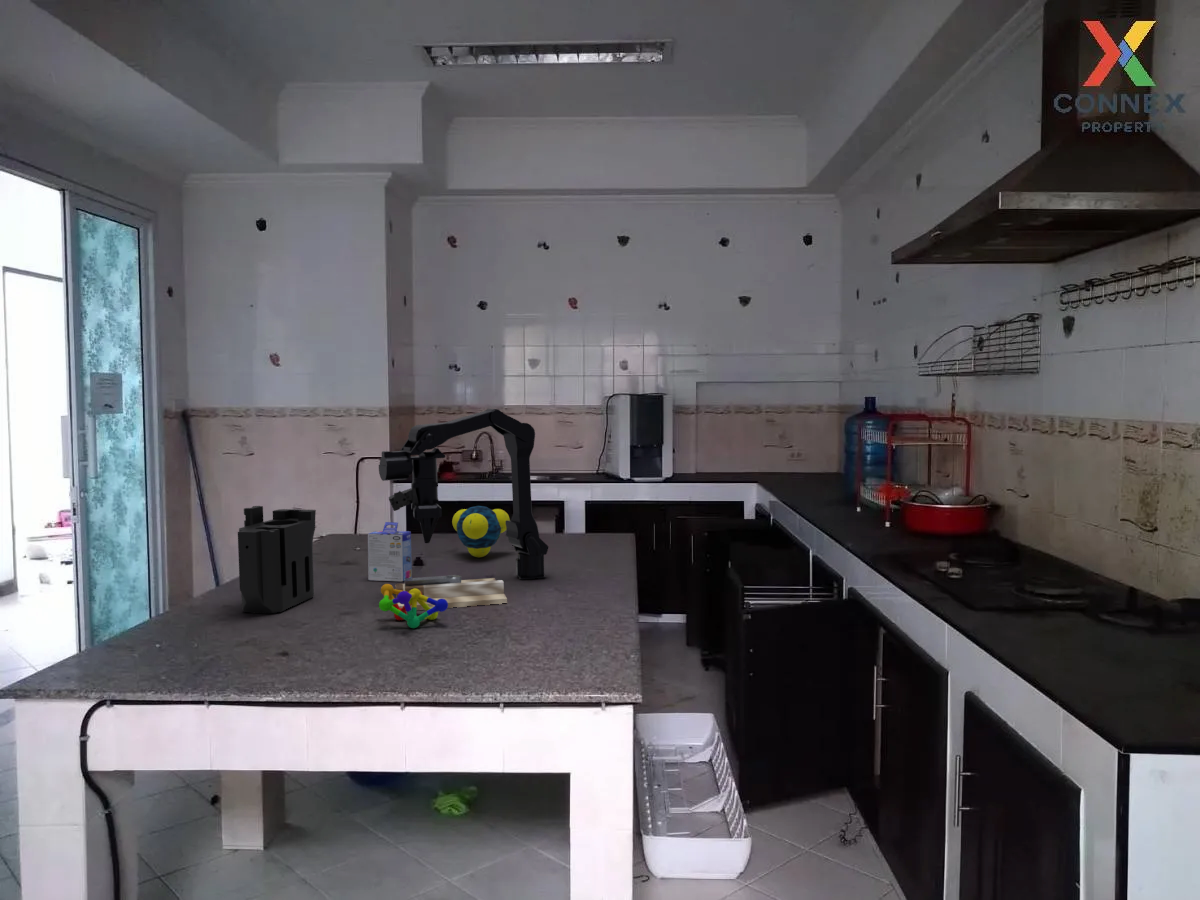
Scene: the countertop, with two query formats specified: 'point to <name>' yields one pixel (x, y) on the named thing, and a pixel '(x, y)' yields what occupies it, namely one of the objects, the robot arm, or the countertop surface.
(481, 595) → the board
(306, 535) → the black machined bracket
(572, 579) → the countertop surface
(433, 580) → the latch bar
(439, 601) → the decorative model
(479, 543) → the toy
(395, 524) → the ink cartridge box
